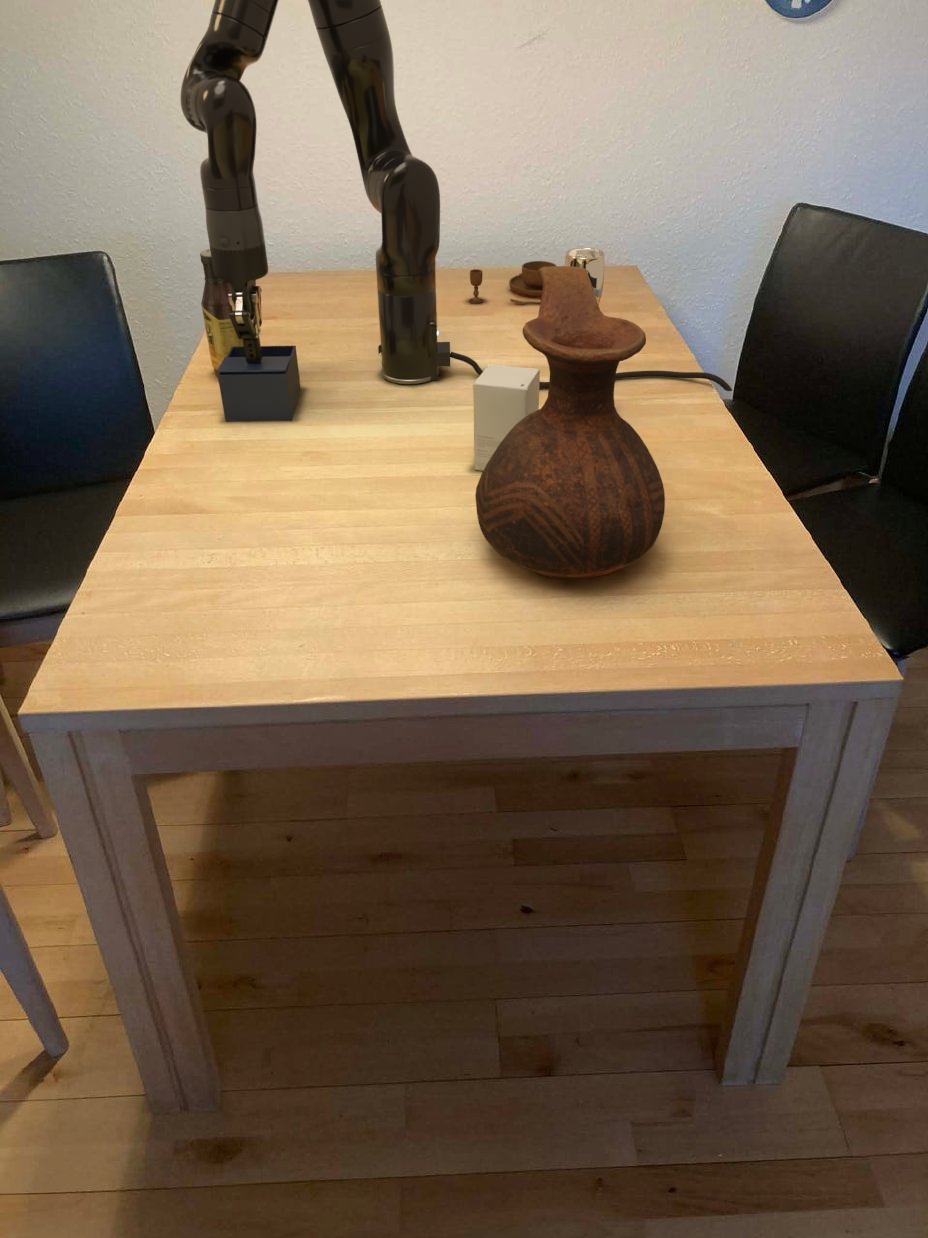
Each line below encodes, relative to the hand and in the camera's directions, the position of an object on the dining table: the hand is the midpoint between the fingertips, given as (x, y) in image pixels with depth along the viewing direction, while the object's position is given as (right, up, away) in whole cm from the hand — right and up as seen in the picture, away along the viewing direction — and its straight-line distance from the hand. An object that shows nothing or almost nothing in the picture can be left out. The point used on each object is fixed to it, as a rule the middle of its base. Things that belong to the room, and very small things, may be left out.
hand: (254, 361), depth 139 cm
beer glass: (+52, +12, +29) cm, 61 cm away
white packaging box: (+37, -17, -9) cm, 42 cm away
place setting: (+42, +28, +51) cm, 72 cm away
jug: (+43, -30, -27) cm, 60 cm away
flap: (0, -1, 0) cm, 1 cm away
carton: (0, -5, +7) cm, 8 cm away
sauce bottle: (-7, +2, +17) cm, 19 cm away
